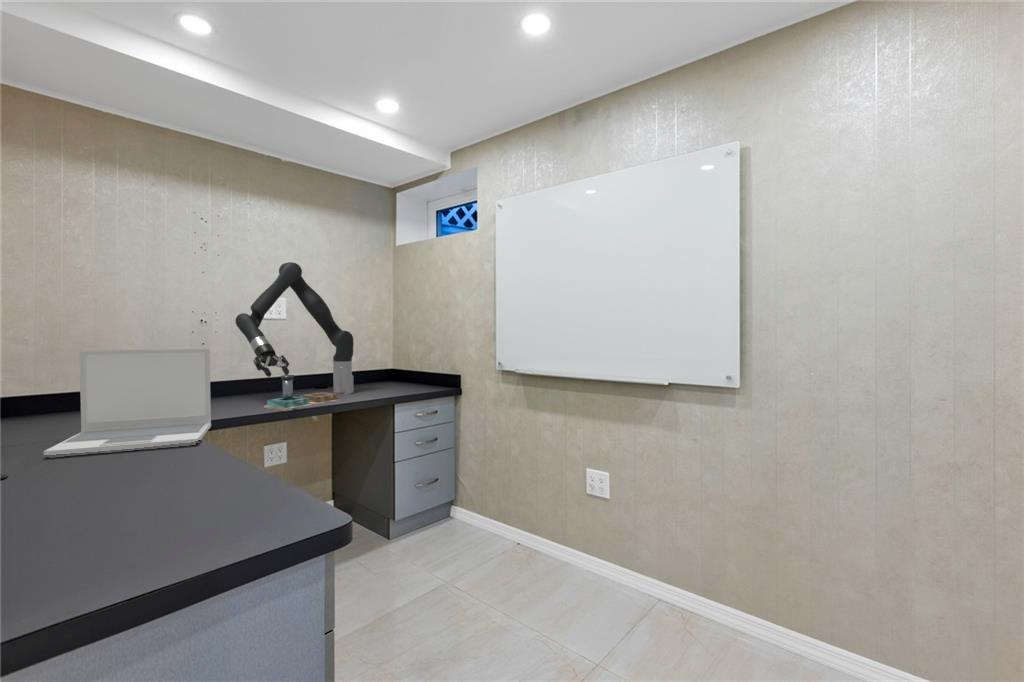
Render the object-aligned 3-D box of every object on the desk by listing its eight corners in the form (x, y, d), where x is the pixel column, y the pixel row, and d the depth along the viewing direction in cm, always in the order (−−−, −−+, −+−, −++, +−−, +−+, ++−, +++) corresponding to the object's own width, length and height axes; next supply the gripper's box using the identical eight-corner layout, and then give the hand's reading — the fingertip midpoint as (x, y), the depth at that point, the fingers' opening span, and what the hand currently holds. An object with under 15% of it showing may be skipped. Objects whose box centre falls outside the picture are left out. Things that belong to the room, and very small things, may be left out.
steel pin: (289, 403, 213) (288, 374, 213) (297, 404, 211) (296, 375, 210) (279, 405, 209) (278, 375, 208) (286, 406, 207) (285, 376, 206)
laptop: (43, 460, 128) (40, 355, 127) (83, 439, 152) (80, 350, 151) (197, 447, 142) (196, 352, 142) (211, 429, 166) (209, 348, 166)
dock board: (320, 399, 233) (320, 391, 233) (341, 401, 226) (341, 394, 226) (264, 407, 208) (264, 399, 208) (286, 411, 201) (285, 402, 200)
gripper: (251, 343, 210) (267, 370, 205) (280, 342, 223) (296, 367, 218) (244, 355, 213) (260, 382, 208) (273, 353, 226) (289, 378, 220)
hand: (278, 374), depth 213 cm, fingers open, 8 cm apart
